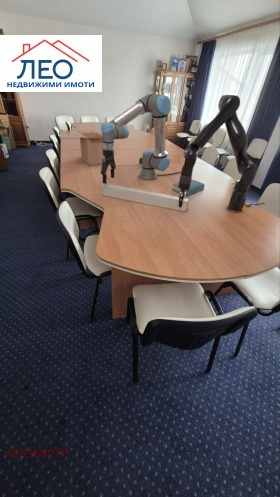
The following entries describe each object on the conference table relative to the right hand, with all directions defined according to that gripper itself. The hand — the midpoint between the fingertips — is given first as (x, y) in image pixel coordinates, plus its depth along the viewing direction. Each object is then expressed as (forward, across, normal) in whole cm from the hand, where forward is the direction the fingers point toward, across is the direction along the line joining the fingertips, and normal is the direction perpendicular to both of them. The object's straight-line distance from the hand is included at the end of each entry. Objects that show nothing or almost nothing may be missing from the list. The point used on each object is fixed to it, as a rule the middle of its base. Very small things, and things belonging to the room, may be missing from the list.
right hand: (180, 205), depth 154 cm
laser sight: (+3, +93, +50) cm, 106 cm away
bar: (+3, 0, +27) cm, 27 cm away
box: (+3, +74, +107) cm, 130 cm away
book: (+3, +39, 0) cm, 39 cm away
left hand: (-8, 0, +55) cm, 55 cm away
